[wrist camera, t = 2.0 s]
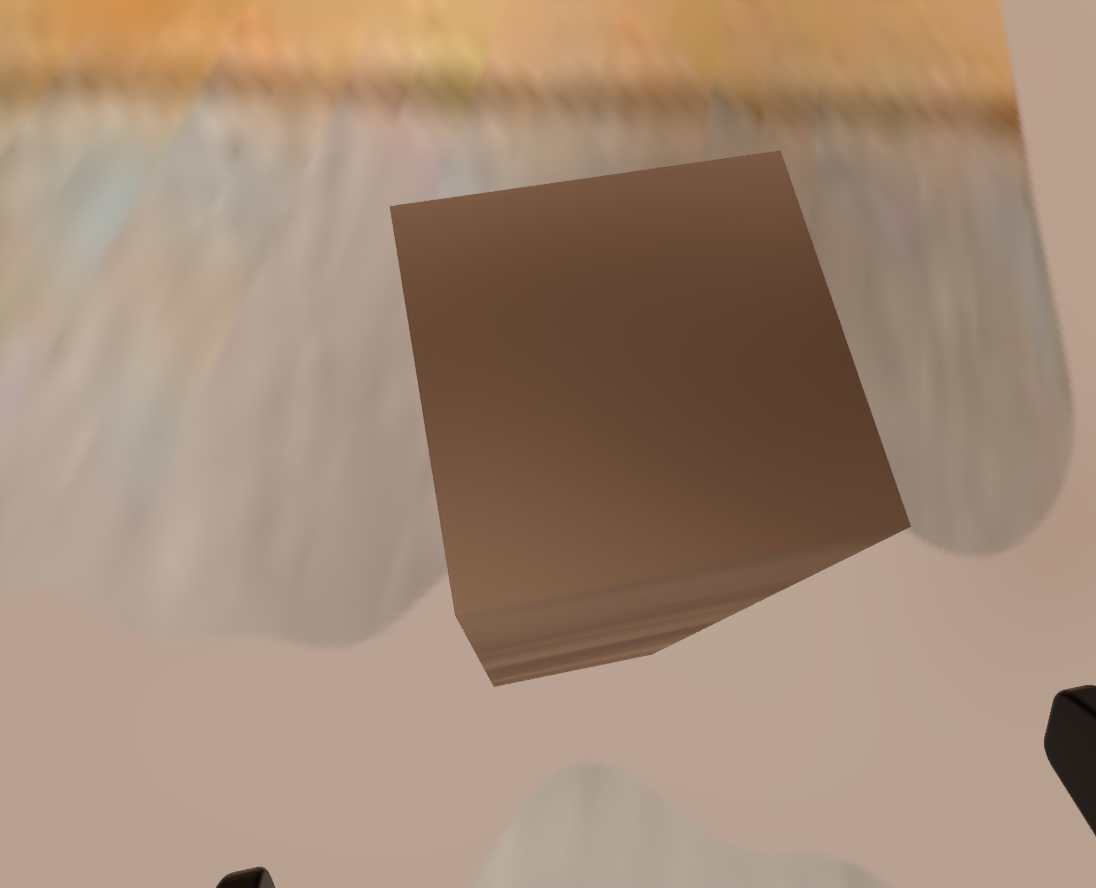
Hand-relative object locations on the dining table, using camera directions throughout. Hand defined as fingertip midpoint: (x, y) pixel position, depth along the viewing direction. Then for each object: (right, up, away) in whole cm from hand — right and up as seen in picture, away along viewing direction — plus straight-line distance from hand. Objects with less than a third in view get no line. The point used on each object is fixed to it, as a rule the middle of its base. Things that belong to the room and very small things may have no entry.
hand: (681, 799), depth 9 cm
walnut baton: (-1, 0, +12) cm, 12 cm away
